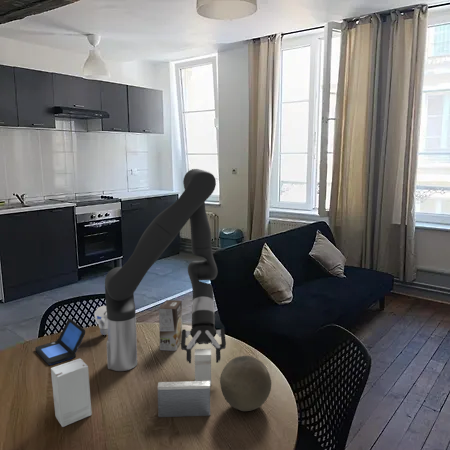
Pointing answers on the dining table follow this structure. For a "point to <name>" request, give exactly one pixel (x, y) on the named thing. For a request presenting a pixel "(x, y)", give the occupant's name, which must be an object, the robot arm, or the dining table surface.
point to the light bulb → (102, 319)
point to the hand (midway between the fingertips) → (203, 362)
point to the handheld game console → (63, 344)
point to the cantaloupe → (245, 383)
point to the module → (203, 365)
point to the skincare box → (71, 392)
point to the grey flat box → (184, 398)
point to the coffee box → (170, 325)
